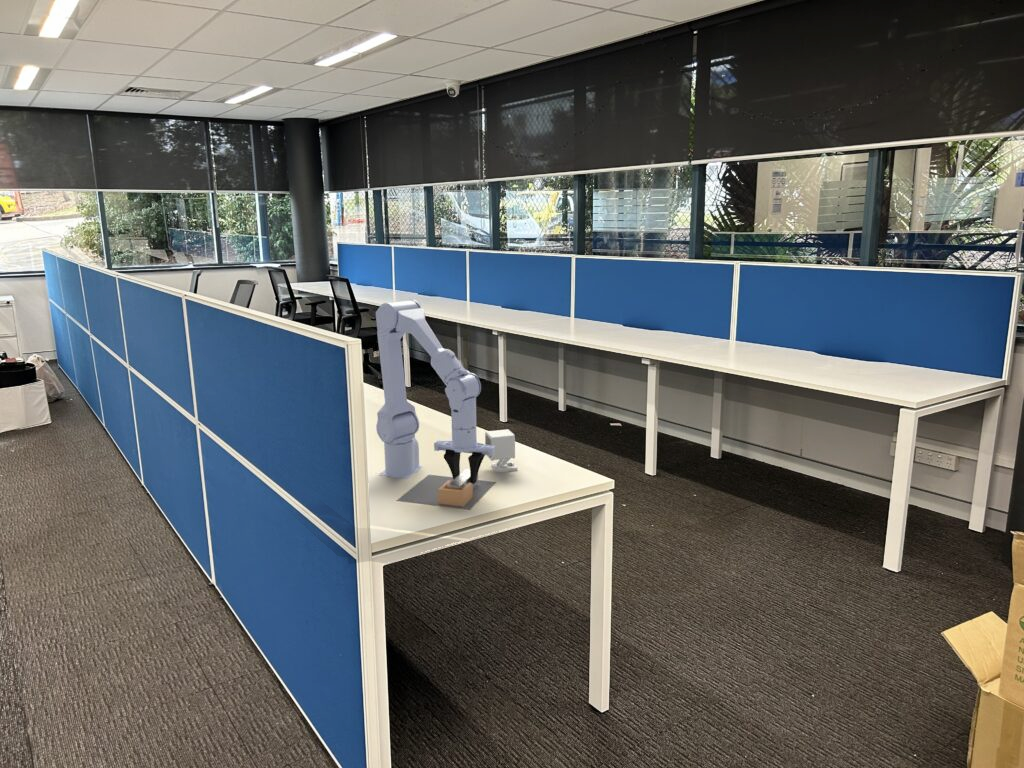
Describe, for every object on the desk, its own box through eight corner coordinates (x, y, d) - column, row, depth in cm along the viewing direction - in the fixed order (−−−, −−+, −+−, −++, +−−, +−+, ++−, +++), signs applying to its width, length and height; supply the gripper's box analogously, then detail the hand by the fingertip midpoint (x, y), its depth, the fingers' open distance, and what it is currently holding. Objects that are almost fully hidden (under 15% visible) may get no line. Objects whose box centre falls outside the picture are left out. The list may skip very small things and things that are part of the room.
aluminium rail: (466, 483, 180) (466, 468, 179) (478, 485, 179) (478, 469, 178) (447, 501, 168) (447, 485, 168) (459, 503, 168) (459, 486, 167)
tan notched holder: (448, 494, 173) (448, 480, 172) (472, 497, 171) (472, 483, 170) (438, 503, 167) (438, 489, 167) (463, 506, 166) (463, 491, 165)
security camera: (485, 467, 192) (484, 430, 190) (510, 464, 195) (510, 428, 192) (491, 475, 187) (491, 437, 184) (518, 472, 189) (518, 435, 186)
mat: (428, 476, 186) (428, 474, 186) (496, 484, 181) (496, 482, 181) (396, 502, 169) (396, 500, 169) (469, 511, 164) (469, 509, 164)
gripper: (428, 428, 170) (429, 484, 173) (487, 433, 165) (488, 490, 168) (440, 420, 176) (441, 474, 179) (497, 425, 172) (498, 480, 175)
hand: (465, 481), depth 174 cm, fingers open, 4 cm apart
